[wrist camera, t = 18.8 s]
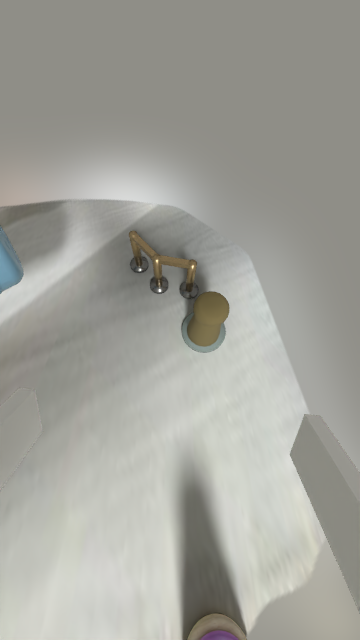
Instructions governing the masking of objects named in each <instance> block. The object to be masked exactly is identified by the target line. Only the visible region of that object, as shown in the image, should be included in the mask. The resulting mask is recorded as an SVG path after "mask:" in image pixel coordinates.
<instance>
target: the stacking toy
mask: <svg viewBox="0 0 360 640" xmlns="http://www.w3.org/2000/svg"><path fill="white" fill-rule="evenodd" d="M187 640H247V639H246V636H245V635H244V633H243V631H242V630H241V628H240V627H239V626H238V625H237V624H236V623H235V622H234V621H233V620H232V619H231V618H229V617H227V616H225V615H223V614H217V613H215V614H209V615H206V616H205V617H203V618H201V619H200V620H199V621H198V622H197V623H196V624H195V625H194V627H193V628H192V630H191V632H190V634H189V636H188V639H187Z"/></svg>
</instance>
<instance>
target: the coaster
mask: <svg viewBox="0 0 360 640" xmlns="http://www.w3.org/2000/svg"><path fill="white" fill-rule="evenodd" d="M193 315H194V312H193V313H191V314H190V315H189V316H188V317H187V318H186V319H185V320H184V322H183V325H182V336H183V339H184V341H185V343H186V344H187V345H188V346H189V347H190V348H191V349H193V350H195V351H198V352H211V351H214V350H215V349H217V348H218V347H219V346H220V345H221V344H222V342H223V341H224V338H225V332H226V331H225V326H224V323H221V329H220V334H219V337H218V339H217V341H216V342H215V343H214V344H212V345H210V346H206V347H203V346H198V345H195V344H194V343H193V342H191V340H190V339H189V337H188V335H187V326H188V324H189V322H190V320H191V318H192V317H193Z"/></svg>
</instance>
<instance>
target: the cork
mask: <svg viewBox="0 0 360 640" xmlns="http://www.w3.org/2000/svg"><path fill="white" fill-rule="evenodd" d="M193 312H194V315H193V317H192V318H191V320H190V322H189V324H188V326H187V335H188V337H189V339H190V340H191V342H193V343H194V344H195V345H198V346H203V347H206V346H210V345H212V344H214V343H215V342H216V341H217V339H218V337H219V334H220V329H221V323H223V322H224V321H225V320H226V318H227V317H228V314H229V304H228V301H227V300H226V298H225V297H224V296H223V295H221V294H220V293H217V292H210V291H209V292H205V293H203V294H201V295H200V296H199V297H198V298H197V299H196V301H195V303H194V309H193Z"/></svg>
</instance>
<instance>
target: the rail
mask: <svg viewBox="0 0 360 640" xmlns="http://www.w3.org/2000/svg"><path fill="white" fill-rule="evenodd" d="M129 237H130V241H131V246H132V250H133V254H134V258H133V259H132V260H131V263H130V265H131V268H132V270H133V271H134V272H137V273H141V272H144V271H146V270H147V268H148V261H147V259H146V258H144V257H141V252H140V248H141V249H142V250H143V251H144V252H145V253H146V254H147V255H148V256H149V257H150V258H151V259H152V260H153V267H154V275H155V278H153V279H152V280H151V282H150V288H151V290H152V291H153V292H154V293H157V294H161V293H164V292H165V291H166V290H167V289H168V281H167V280H166V279H165V278H164V277H162V266H161V264H163V265H169V266H175V267H181V268H187V269H188V271H187V280H186V282H184V283H183V284H182V285H181V286H180V294H181V295H182V296H183V297H184V298H187V299H191V298H194V297H195V296H196V295H197V293H198V287H197V285H196V284H195V283H194V278H195V272H196V266H197V262H196V261H195V260H186V259H180V258H174V257H168V256H162V255H159V254H157V253H156V252H155V251H154V250H153V249H152V248H151V247H150V246H149V245H148V244H147V243H146V242H145V241H144V240H143V239H142V238H141V237H140V236H139V235H138V234H137V232H136V231H130V232H129Z"/></svg>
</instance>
